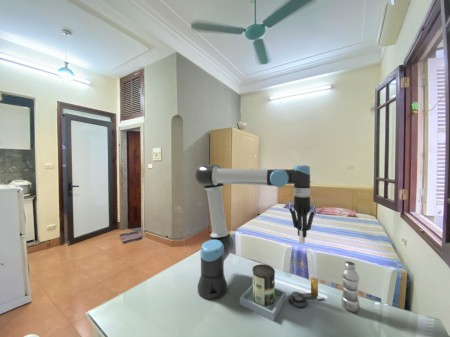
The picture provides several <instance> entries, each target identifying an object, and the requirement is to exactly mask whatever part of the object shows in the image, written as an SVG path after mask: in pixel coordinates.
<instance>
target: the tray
mask: <svg viewBox="0 0 450 337" xmlns="http://www.w3.org/2000/svg"><path fill="white" fill-rule="evenodd" d="M286 299H287V291H284V290H282V289H280V288H276V287H275V304H274V305H273V306H272V307H269V308H265V307H263V306H260V305H258V304H256V303H254V301H253V283H251V285H249V287H248V288H247V289H246V290H245V291H244V293H242V295H241V296H240V297H239V305H240V306H242V307H244V308H246V309H249V311H250V310H251V311H252V312H254V313H256V314H259V315H260V316H262V317H264V318H266V319H268V320H271V321H272V322H274V321H275V319H276V318H277V317H278V316H277V315H278V314H279V312H280V311H281V308H282V307H283V305H284V303H285V302H286Z"/></svg>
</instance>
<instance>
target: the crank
mask: <svg viewBox="0 0 450 337" xmlns="http://www.w3.org/2000/svg"><path fill="white" fill-rule="evenodd" d="M291 294H292V299H293V300H294V301H296V302H303V300H307V301H318V300H317V299H318V296H319V279H318V278H315V277H311V278H310V292H307V293H306V292H303V293H301V292H299V291H293V292H291Z"/></svg>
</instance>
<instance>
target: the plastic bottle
mask: <svg viewBox="0 0 450 337" xmlns="http://www.w3.org/2000/svg"><path fill="white" fill-rule="evenodd" d="M340 275H341V281H342V294H341V305H342V306H343V308H344V309H345V310H347V311H349V312H353V313H357V312H358V311H359V310H360V301H359V296H358V295H359V294H358V290H359V288H358V287H359V281H360V276H359V274H358V273H357V271H356V264H355V263H354V262H352V261H349V260H348V261H345V262H344V268H343V269H342V270H341V272H340Z"/></svg>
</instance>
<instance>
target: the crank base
mask: <svg viewBox="0 0 450 337" xmlns="http://www.w3.org/2000/svg"><path fill="white" fill-rule="evenodd" d="M288 303H289V304H290V305H291V306H293V308H294V307H295V308H297V309H304V308H306V307H307V306H308V300H303V302H296V301H294V300H293V299H292V293H290V294H289V295H288Z"/></svg>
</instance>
